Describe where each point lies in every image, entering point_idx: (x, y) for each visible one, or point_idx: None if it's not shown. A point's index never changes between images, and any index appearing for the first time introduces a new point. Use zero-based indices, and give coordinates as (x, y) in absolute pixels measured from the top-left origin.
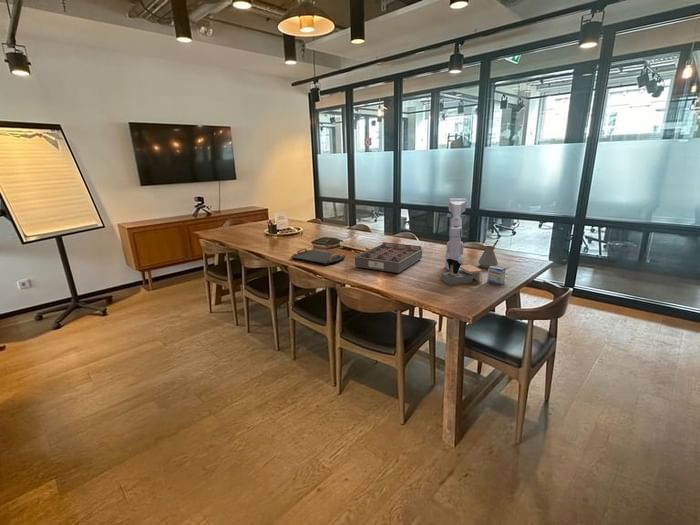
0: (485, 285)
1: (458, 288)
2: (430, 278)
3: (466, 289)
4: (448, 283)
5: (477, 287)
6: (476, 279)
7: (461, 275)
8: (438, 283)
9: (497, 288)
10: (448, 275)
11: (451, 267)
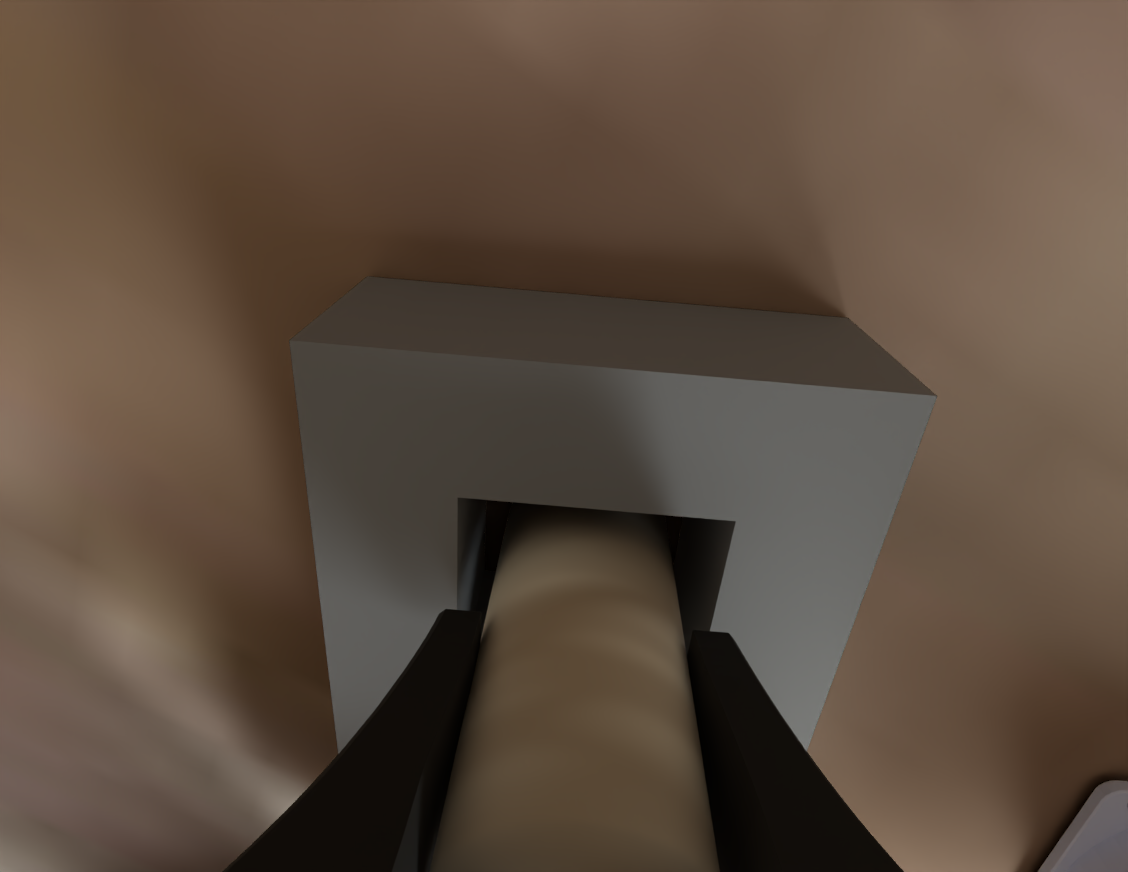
0: (201, 795)
1: (96, 334)
2: (1122, 89)
3: (18, 448)
4: (416, 287)
5: (120, 664)
6: None
7: None
8: (601, 57)
9: (47, 836)
10: (563, 455)
11: (550, 764)
